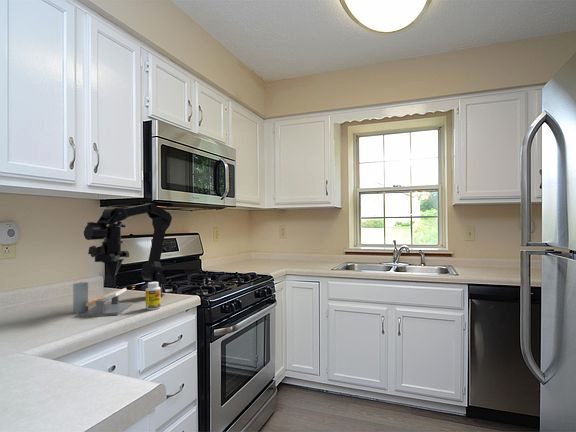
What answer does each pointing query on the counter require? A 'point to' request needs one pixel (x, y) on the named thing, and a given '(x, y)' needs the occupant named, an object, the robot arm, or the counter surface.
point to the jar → (80, 297)
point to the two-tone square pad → (106, 297)
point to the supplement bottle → (153, 296)
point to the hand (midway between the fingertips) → (113, 277)
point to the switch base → (107, 308)
